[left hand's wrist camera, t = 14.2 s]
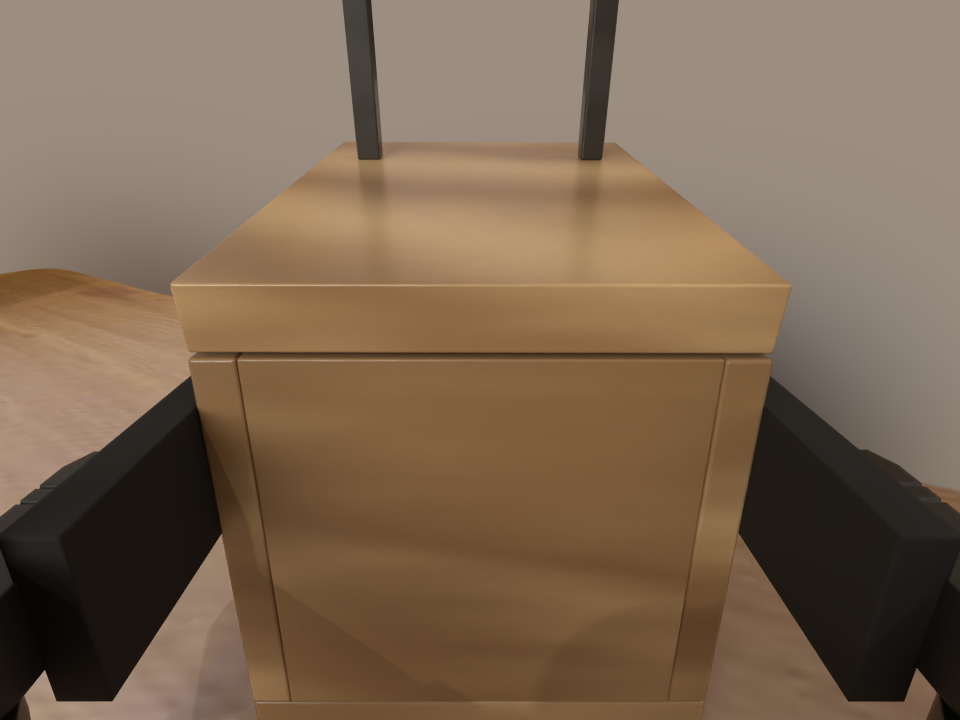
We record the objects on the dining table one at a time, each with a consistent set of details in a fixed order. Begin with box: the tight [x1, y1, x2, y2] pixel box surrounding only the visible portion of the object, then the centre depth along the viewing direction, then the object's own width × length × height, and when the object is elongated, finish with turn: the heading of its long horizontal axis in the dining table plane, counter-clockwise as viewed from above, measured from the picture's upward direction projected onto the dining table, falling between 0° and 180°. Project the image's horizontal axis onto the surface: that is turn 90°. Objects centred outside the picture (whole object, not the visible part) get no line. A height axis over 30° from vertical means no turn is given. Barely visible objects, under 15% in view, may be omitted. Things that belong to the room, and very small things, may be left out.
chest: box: [188, 352, 772, 720], centre depth 17 cm, size 13×10×9 cm
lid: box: [170, 0, 791, 354], centre depth 13 cm, size 14×10×9 cm
